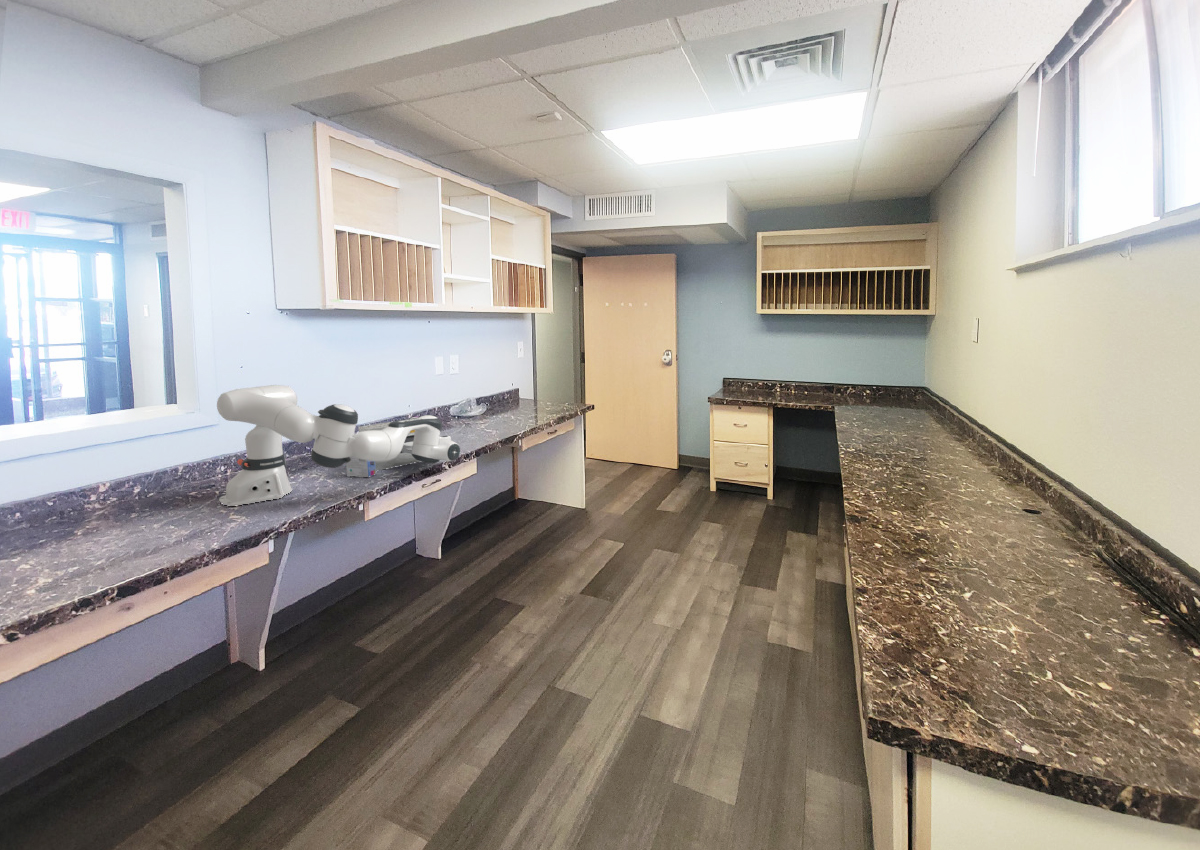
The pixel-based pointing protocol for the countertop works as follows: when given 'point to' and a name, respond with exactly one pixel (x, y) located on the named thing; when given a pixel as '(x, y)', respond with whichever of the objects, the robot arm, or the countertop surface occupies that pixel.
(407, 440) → the button
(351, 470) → the ink cartridge box
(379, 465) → the metal drawer cabinet
